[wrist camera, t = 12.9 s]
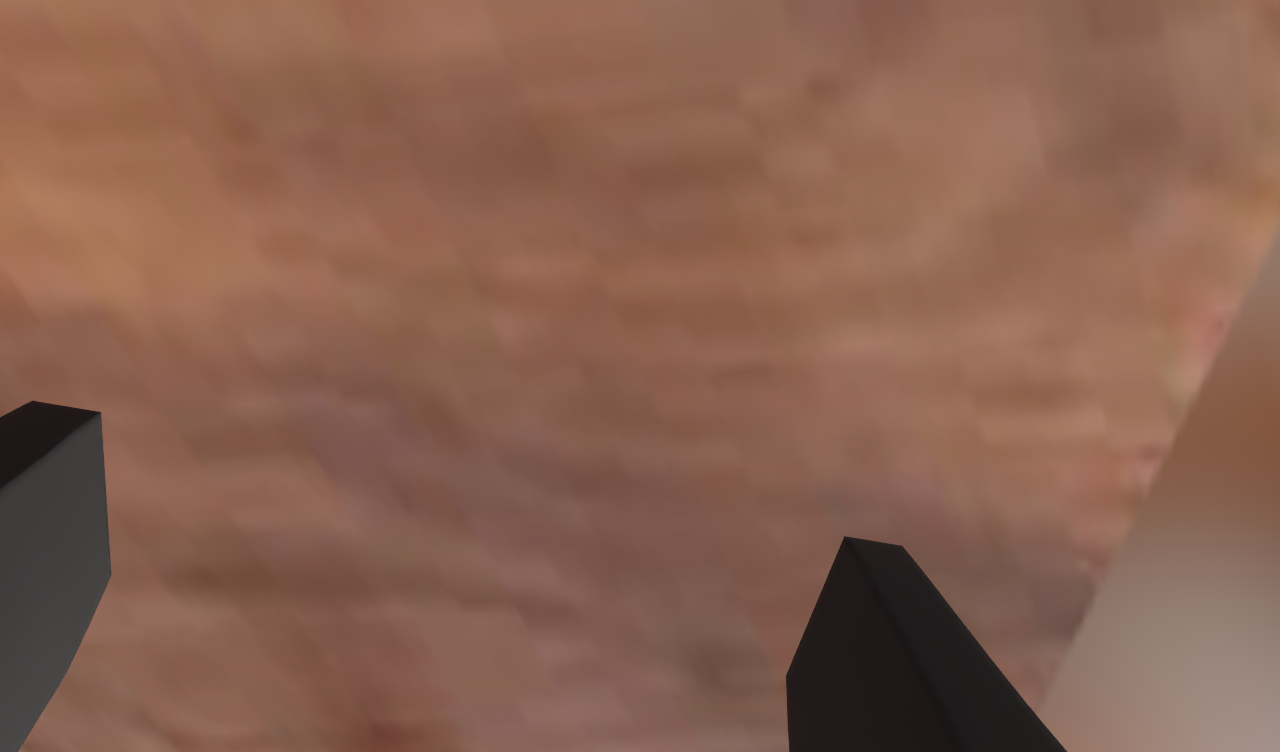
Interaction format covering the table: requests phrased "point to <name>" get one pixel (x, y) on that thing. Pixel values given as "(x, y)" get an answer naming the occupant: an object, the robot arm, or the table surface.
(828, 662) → the robot arm
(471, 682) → the table surface
